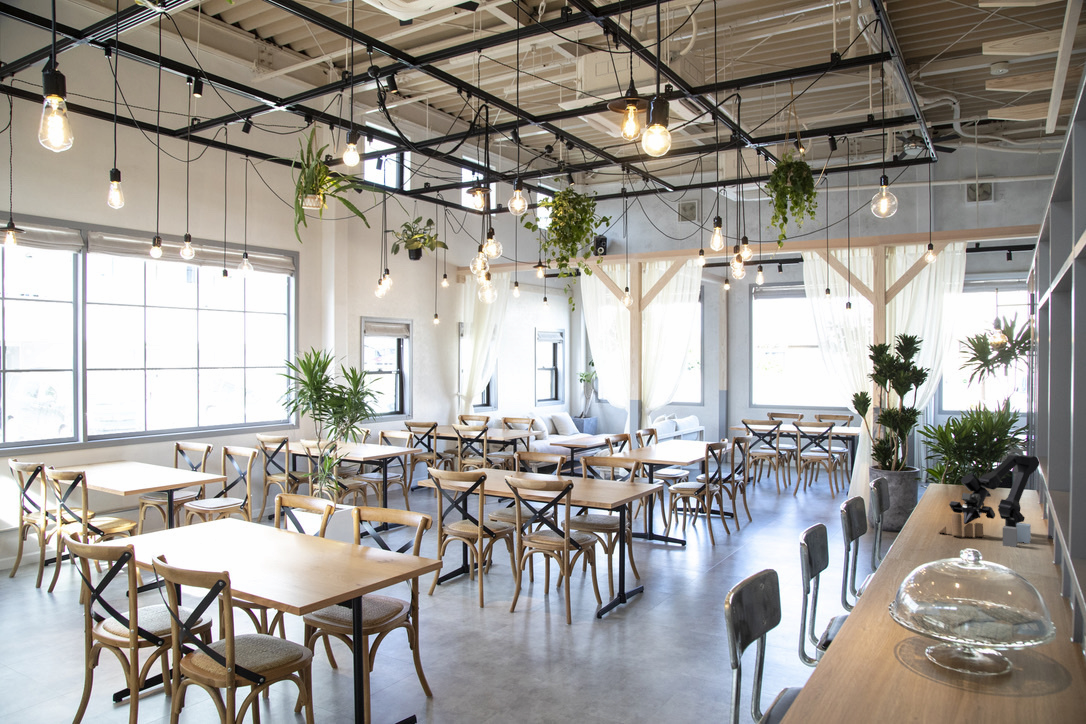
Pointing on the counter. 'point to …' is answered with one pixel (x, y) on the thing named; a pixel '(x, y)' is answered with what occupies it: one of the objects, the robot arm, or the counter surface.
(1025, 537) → the slate blue block
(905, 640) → the counter surface
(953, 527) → the wooden block set
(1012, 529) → the gray rectangular block
